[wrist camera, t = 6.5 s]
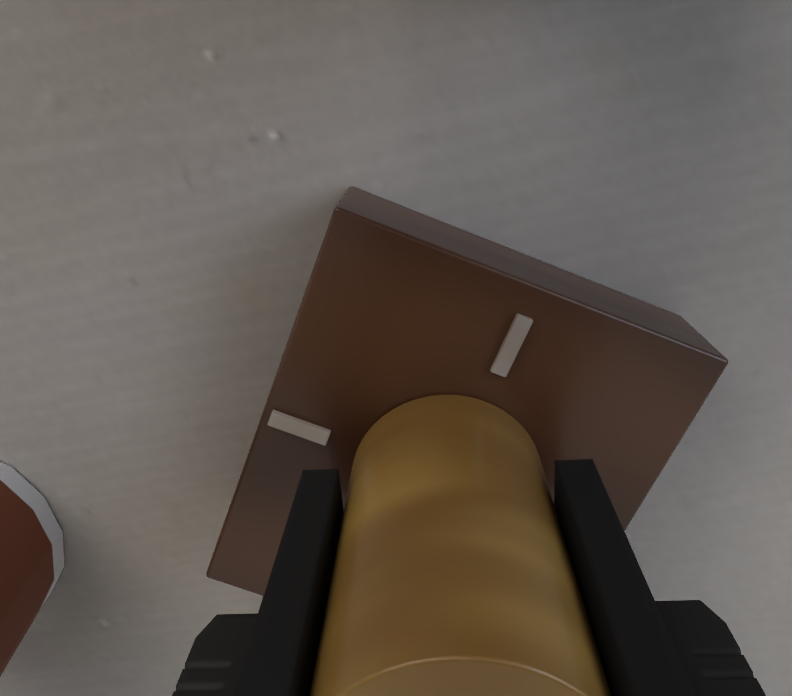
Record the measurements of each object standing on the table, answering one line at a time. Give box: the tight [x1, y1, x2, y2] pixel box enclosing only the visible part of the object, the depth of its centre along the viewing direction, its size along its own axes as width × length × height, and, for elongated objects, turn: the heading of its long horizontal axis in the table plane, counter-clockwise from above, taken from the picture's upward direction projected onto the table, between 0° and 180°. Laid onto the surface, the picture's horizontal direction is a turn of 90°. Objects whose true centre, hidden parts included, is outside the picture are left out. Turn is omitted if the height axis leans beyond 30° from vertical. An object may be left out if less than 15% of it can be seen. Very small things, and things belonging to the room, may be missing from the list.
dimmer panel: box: [206, 187, 728, 596], centre depth 17 cm, size 10×9×3 cm
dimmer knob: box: [309, 395, 612, 696], centre depth 12 cm, size 4×4×8 cm
